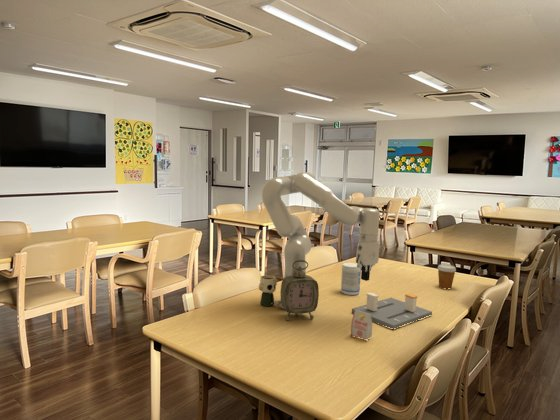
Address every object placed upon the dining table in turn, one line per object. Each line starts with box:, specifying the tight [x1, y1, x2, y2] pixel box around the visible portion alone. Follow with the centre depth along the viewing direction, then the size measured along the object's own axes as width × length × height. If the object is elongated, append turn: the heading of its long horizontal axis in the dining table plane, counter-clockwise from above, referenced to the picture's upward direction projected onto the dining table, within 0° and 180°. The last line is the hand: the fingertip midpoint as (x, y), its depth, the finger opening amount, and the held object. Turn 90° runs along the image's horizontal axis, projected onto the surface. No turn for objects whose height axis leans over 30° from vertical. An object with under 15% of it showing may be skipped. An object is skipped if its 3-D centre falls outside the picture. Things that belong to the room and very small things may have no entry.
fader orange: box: [404, 293, 418, 312], centre depth 179 cm, size 3×4×7 cm, turn 38°
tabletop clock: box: [280, 260, 320, 322], centre depth 171 cm, size 14×9×25 cm, turn 105°
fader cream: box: [365, 292, 379, 311], centre depth 178 cm, size 3×4×7 cm, turn 38°
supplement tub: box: [340, 262, 362, 296], centre depth 208 cm, size 10×10×15 cm
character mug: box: [258, 274, 278, 307], centre depth 185 cm, size 11×7×13 cm, turn 136°
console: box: [351, 297, 433, 329], centre depth 180 cm, size 28×22×2 cm
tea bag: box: [350, 310, 373, 339], centre depth 155 cm, size 4×7×10 cm, turn 52°
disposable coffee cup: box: [437, 263, 457, 290], centre depth 223 cm, size 10×10×12 cm
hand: (365, 279), depth 173 cm, fingers closed
